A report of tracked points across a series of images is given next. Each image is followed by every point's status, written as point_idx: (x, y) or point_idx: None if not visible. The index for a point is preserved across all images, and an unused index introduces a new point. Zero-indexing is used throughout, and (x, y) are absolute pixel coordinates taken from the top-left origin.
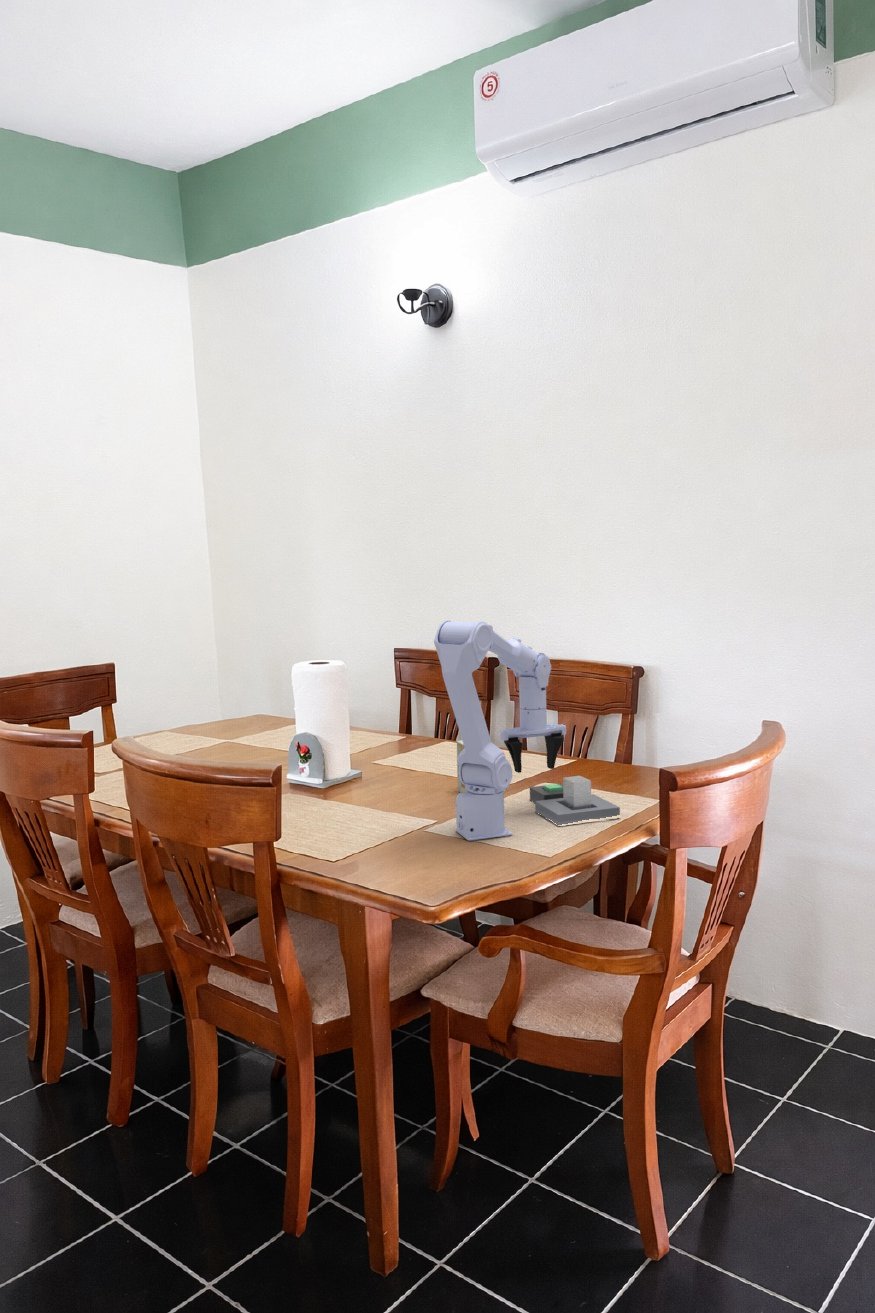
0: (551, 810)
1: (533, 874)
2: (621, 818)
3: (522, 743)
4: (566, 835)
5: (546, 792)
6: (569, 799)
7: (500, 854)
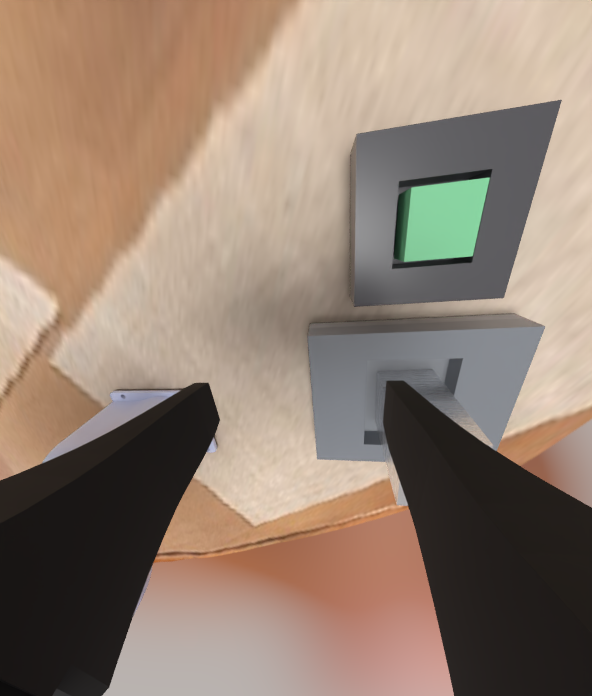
0: (315, 428)
1: (221, 550)
2: None
3: (104, 692)
4: (311, 475)
5: (381, 270)
6: (383, 426)
7: (190, 499)
